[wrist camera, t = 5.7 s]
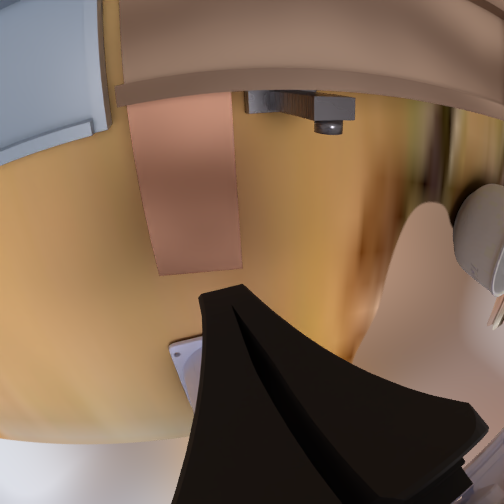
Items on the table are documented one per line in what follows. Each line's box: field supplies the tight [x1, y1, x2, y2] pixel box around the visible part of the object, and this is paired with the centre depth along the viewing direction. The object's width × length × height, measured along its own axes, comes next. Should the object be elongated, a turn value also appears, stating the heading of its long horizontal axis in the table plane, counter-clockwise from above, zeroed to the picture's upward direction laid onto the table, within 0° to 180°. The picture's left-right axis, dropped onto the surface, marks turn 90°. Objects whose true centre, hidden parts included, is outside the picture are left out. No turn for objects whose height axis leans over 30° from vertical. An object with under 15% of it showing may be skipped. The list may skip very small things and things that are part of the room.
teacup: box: [453, 184, 504, 297], centre depth 25 cm, size 14×11×8 cm
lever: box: [115, 0, 504, 276], centre depth 11 cm, size 15×20×3 cm
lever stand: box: [244, 90, 355, 135], centre depth 11 cm, size 11×4×6 cm, turn 3°
